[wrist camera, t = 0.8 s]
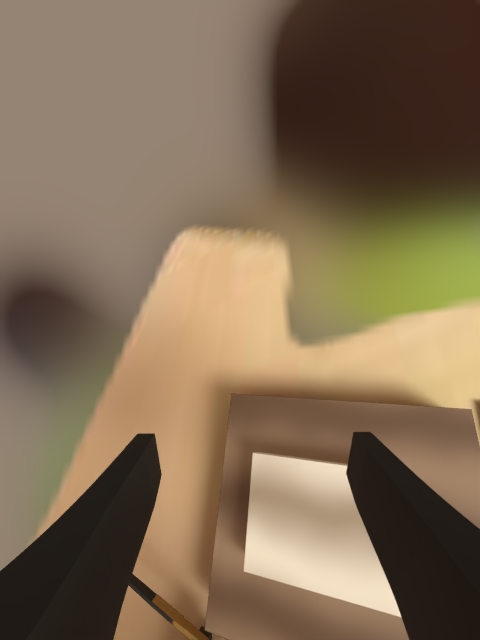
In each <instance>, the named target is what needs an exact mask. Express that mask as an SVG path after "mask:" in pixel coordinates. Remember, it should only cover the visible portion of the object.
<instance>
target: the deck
mask: <svg viewBox="0 0 480 640" xmlns="http://www.w3.org/2000/svg"><path fill="white" fill-rule="evenodd" d="M353 432H371V433H372V434H373V435H374V436H376V437H377V438H378V439H379V440H380V441H381V442H382V443H383V444H384V445H385V446H386V447H387V448H388V449H389V450H390V451H391V452H392V453H393V454H395V455H396V456H397V457H398V458H399V459H400V460H401V461H402V462H403V463H404V464H405V465H406V466H407V467H408V468H409V469H411V470H412V471H413V472H414V473H415V474H416V475H417V476H418V477H419V478H420V479H421V480H423V481H424V482H425V483H426V484H427V485H428V486H429V487H430V488H431V489H433V490H434V491H435V492H436V493H437V494H438V495H440V496H441V497H442V498H443V499H444V500H445V501H446V502H448V503H449V504H450V505H451V506H452V507H454V508H455V509H456V510H457V511H458V512H460V513H461V514H462V515H463V516H464V517H466V518H467V519H468V520H469V521H470V522H472V523H473V524H474V525H475V526H477V527H478V528H479V529H480V446H479V442H478V437H477V433H476V428H475V423H474V419H473V414H472V409H459V408H444V407H429V406H414V405H399V404H383V403H368V402H353V401H338V400H323V399H308V398H292V397H277V396H262V395H247V394H232V393H231V402H230V411H229V420H228V429H227V437H226V446H225V455H224V464H223V473H222V481H221V490H220V499H219V508H218V517H217V525H216V534H215V543H214V552H213V561H212V569H211V578H210V587H209V596H208V605H207V613H206V622H205V631H208V632H211V633H213V634H216V635H218V636H221V637H223V638H226V639H229V640H409V638H408V635H407V632H406V629H405V626H404V623H403V620H402V617H399V616H395V615H392V614H388V613H385V612H381V611H378V610H375V609H371V608H368V607H364V606H361V605H357V604H354V603H351V602H347V601H344V600H340V599H337V598H333V597H330V596H327V595H323V594H320V593H316V592H313V591H310V590H306V589H303V588H299V587H296V586H292V585H289V584H286V583H282V582H279V581H275V580H272V579H268V578H265V577H262V576H258V575H255V574H251V573H248V572H244V561H245V548H246V535H247V522H248V509H249V496H250V483H251V470H252V457H253V453H255V452H263V453H271V454H278V455H285V456H293V457H300V458H307V459H314V460H322V461H329V462H336V463H344V464H348V459H349V454H350V448H351V443H352V437H353Z"/></svg>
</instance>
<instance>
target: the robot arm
mask: <svg viewBox="0 0 480 640" xmlns="http://www.w3.org/2000/svg"><path fill="white" fill-rule="evenodd" d="M346 475H347V478H348V482H349V485H350V488H351V492H352V495H353V498H354V501H355V504H356V507H357V509H358V512H359V514H360V517H361V519H362V521H363V524H364V526H365V528H366V531H367V533H368V536H369V538H370V540H371V543H372V545H373V547H374V550H375V552H376V554H377V557H378V559H379V561H380V564H381V566H382V568H383V571H384V573H385V576H386V578H387V580H388V583H389V585H390V588H391V590H392V593H393V595H394V598H395V600H396V603H397V606H398V608H399V611H400V614H401V617H402V620H403V623H404V626H405V629H406V632H407V635H408V638H409V640H480V529H479V528H478V527H477V526H475V525H474V524H473V523H472V522H470V521H469V520H468V519H467V518H466V517H464V516H463V515H462V514H461V513H460V512H458V511H457V510H456V509H455V508H454V507H452V506H451V505H450V504H449V503H448V502H446V501H445V500H444V499H443V498H442V497H441V496H440V495H438V494H437V493H436V492H435V491H434V490H433V489H431V488H430V487H429V486H428V485H427V484H426V483H425V482H424V481H423V480H421V479H420V478H419V477H418V476H417V475H416V474H415V473H414V472H413V471H412V470H411V469H409V468H408V467H407V466H406V465H405V464H404V463H403V462H402V461H401V460H400V459H399V458H398V457H397V456H396V455H395V454H393V453H392V452H391V451H390V450H389V449H388V448H387V447H386V446H385V445H384V444H383V443H382V442H381V441H380V440H379V439H378V438H377V437H376V436H374V435H373V434H372V433H371V432H353V437H352V443H351V448H350V454H349V459H348V465H347V471H346ZM160 479H161V469H160V463H159V457H158V451H157V445H156V439H155V434H137V435H136V436H135V437H134V438H133V440H132V441H131V442H130V443H129V444H128V445H127V446H126V448H125V449H124V450H123V451H122V452H121V453H120V454H119V455H118V457H117V458H116V459H115V460H114V461H113V462H112V463H111V464H110V466H109V467H108V468H107V469H106V470H105V471H104V472H103V473H102V474H101V475H100V477H99V478H98V479H97V480H96V481H95V482H94V483H93V484H92V485H91V486H90V487H89V488H88V489H87V490H86V492H85V493H84V494H83V495H82V496H81V497H80V498H79V499H78V500H77V501H76V502H75V503H74V504H73V505H72V506H71V507H70V508H69V509H68V510H67V511H66V512H65V513H64V514H63V515H62V516H61V517H60V518H59V519H58V520H57V521H56V522H55V523H54V524H52V525H51V526H50V527H49V528H48V529H47V530H46V531H45V532H44V533H43V534H42V535H41V536H40V537H39V538H38V539H36V540H35V541H34V542H33V543H32V544H31V545H30V546H29V547H28V548H26V549H25V550H24V551H23V552H22V553H21V554H20V555H19V556H17V557H16V558H15V559H14V560H13V561H12V562H10V563H9V564H8V565H7V566H6V567H5V568H3V569H2V570H1V571H0V640H113V638H114V635H115V631H116V627H117V623H118V619H119V615H120V611H121V607H122V604H123V601H124V597H125V594H126V591H127V587H128V584H129V581H130V578H131V575H132V572H133V569H134V566H135V563H136V560H137V557H138V554H139V551H140V548H141V545H142V542H143V539H144V536H145V533H146V530H147V527H148V524H149V521H150V518H151V515H152V512H153V509H154V506H155V502H156V497H157V493H158V488H159V484H160Z"/></svg>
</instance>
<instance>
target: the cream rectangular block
mask: <svg viewBox="0 0 480 640" xmlns="http://www.w3.org/2000/svg"><path fill="white" fill-rule="evenodd" d="M347 465H348V464H344V463H336V462H329V461H322V460H314V459H307V458H300V457H293V456H285V455H278V454H271V453H263V452H255V453H253V457H252V470H251V483H250V496H249V509H248V522H247V535H246V548H245V561H244V572H248V573H251V574H255V575H258V576H262V577H265V578H268V579H272V580H275V581H279V582H282V583H286V584H289V585H292V586H296V587H299V588H303V589H306V590H310V591H313V592H316V593H320V594H323V595H327V596H330V597H333V598H337V599H340V600H344V601H347V602H351V603H354V604H357V605H361V606H364V607H368V608H371V609H375V610H378V611H381V612H385V613H388V614H392V615H395V616H399V617H401V614H400V611H399V608H398V606H397V603H396V600H395V598H394V595H393V593H392V590H391V588H390V585H389V583H388V580H387V578H386V576H385V573H384V571H383V568H382V566H381V564H380V561H379V559H378V557H377V554H376V552H375V550H374V547H373V545H372V543H371V540H370V538H369V536H368V533H367V531H366V528H365V526H364V524H363V521H362V519H361V517H360V514H359V512H358V509H357V507H356V504H355V501H354V498H353V495H352V492H351V488H350V485H349V482H348V478H347V475H346V471H347Z"/></svg>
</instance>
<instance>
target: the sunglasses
mask: <svg viewBox="0 0 480 640" xmlns="http://www.w3.org/2000/svg"><path fill="white" fill-rule="evenodd" d="M128 585H129V586H130V587H131V588H132V589H133V590H134V591H135V592H136V593H138V594H139V595H140V596H141V597H142V598H143V599H144V600H145V601H146V602H147V603H148V604H150V606H151V607H153V608H154V609H155V610H156V611H157V612H158V613H159V614H161V615H162V616H163V617H164V618H165V619H166V620H167V621H169V622H170V623H171V624H172V625H173V626H174V627H175V628H177V629H178V630H179V631H180V632H181V633H183V634H184V635H185V636H186V637H187V638H188V639H189V640H212V633H211V632H208V631H205V628H204V627H203V626H202V627H201V628H200V629H199V630H198V629H197V628H196V627H195V626H193V625H192V624H191V623H190V622H189V621H188V620H186V619H185V618H184V616H182V615H181V614H180V613H179V612H178V611H177V610H175V609H174V608H173V607H172V606H171V605H169V604H168V603H167V602H166V601H165V600H164V599H162V598H161V597H160V596H159V595H158V594H156V593H154V592H153V591H152V590H151V589H150V588H149V587H147V586H146V585H145V584H144V583H143V582H141V581H140V580H139V579H138V578H137V577H136V576H134V575H133V574H132V575H131V578H130V581H129V584H128Z"/></svg>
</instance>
